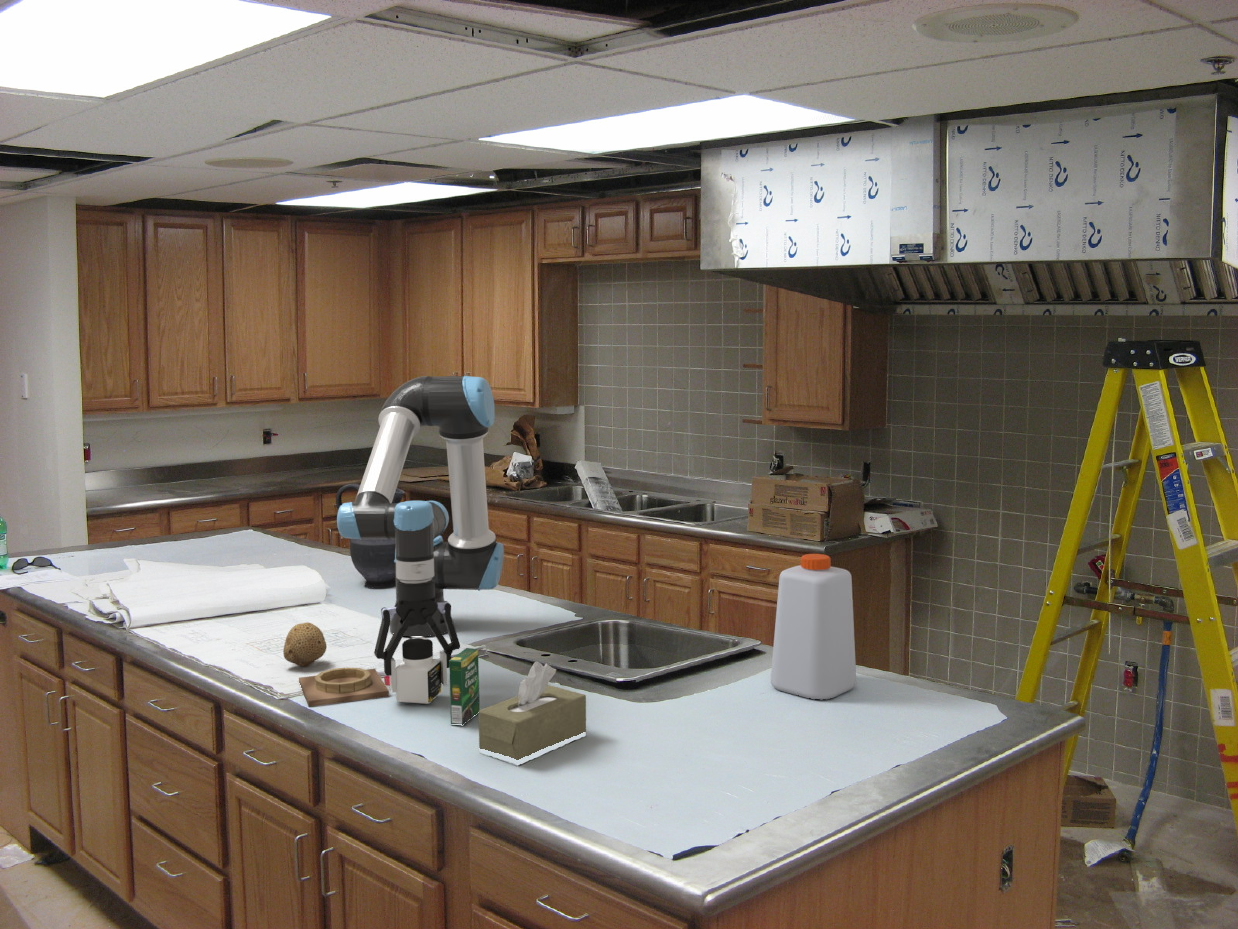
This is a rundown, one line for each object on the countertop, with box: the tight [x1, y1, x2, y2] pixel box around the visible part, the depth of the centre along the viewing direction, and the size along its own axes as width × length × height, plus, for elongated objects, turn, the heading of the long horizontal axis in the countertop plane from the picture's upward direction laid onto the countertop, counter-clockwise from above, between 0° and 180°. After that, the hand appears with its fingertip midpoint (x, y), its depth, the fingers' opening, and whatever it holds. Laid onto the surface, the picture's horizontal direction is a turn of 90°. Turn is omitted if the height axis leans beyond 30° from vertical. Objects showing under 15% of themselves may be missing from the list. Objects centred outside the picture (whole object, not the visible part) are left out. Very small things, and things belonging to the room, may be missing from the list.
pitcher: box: [335, 483, 406, 590], centre depth 321 cm, size 17×21×30 cm
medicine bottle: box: [395, 637, 442, 705], centre depth 223 cm, size 7×7×12 cm
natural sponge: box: [283, 622, 327, 668], centre depth 246 cm, size 9×9×10 cm
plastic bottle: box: [770, 553, 857, 701], centre depth 230 cm, size 15×15×28 cm
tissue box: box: [478, 661, 587, 760], centre depth 200 cm, size 19×10×16 cm, turn 141°
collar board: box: [298, 666, 390, 708], centre depth 231 cm, size 16×16×3 cm
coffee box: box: [448, 647, 481, 725], centre depth 213 cm, size 8×3×13 cm, turn 163°
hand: (418, 686), depth 224 cm, fingers closed on medicine bottle, 10 cm apart
